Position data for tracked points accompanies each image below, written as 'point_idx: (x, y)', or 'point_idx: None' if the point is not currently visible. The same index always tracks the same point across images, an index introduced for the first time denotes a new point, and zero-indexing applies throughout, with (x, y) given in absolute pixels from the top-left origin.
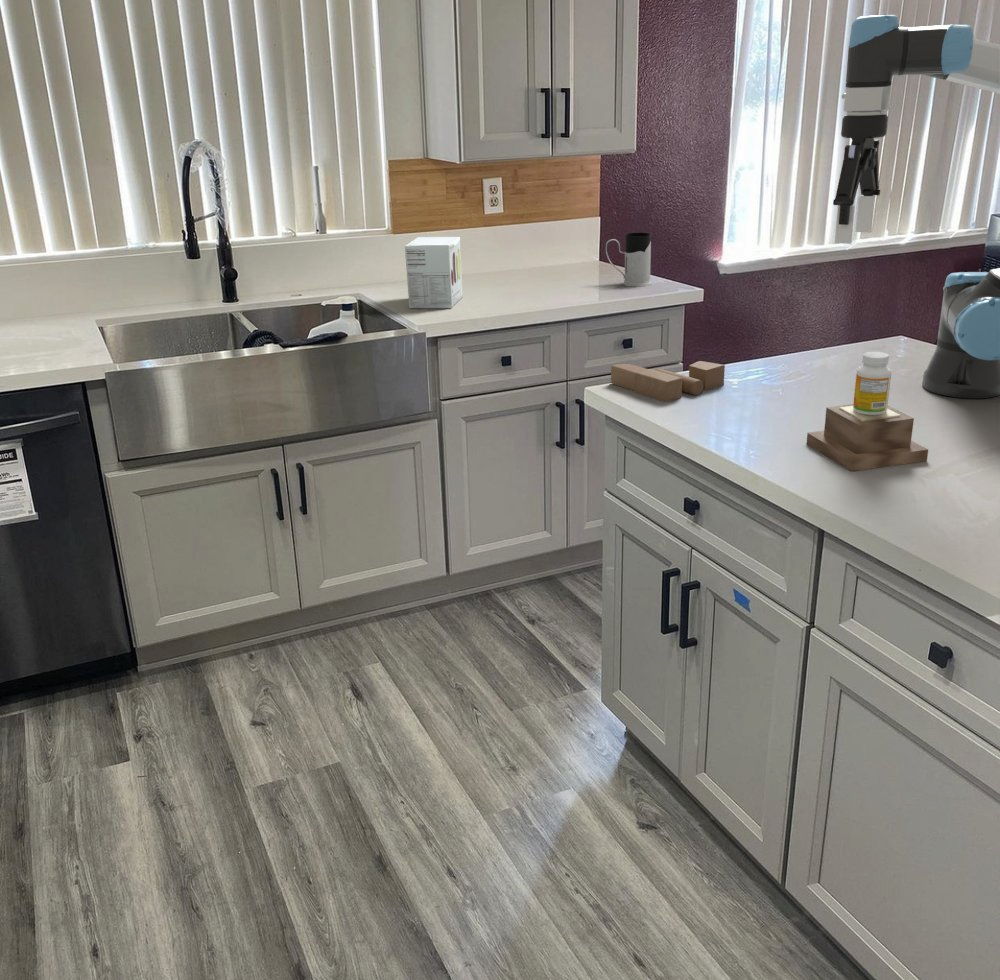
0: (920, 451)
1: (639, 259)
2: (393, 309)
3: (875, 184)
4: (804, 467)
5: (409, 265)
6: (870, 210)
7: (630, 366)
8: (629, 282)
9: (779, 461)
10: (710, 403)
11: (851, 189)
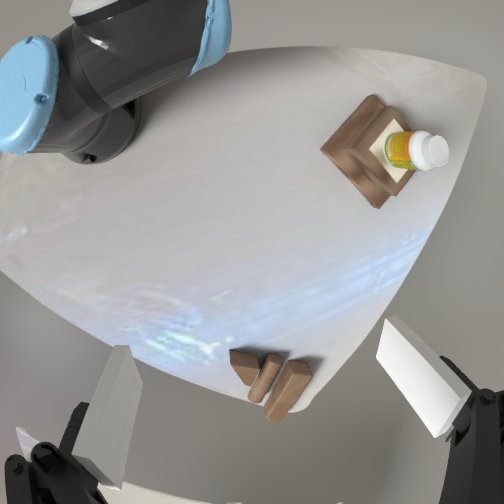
0: (378, 100)
1: None
2: None
3: (56, 501)
4: (419, 191)
5: None
6: (109, 412)
7: (274, 415)
8: None
9: (415, 213)
10: (295, 333)
11: None
